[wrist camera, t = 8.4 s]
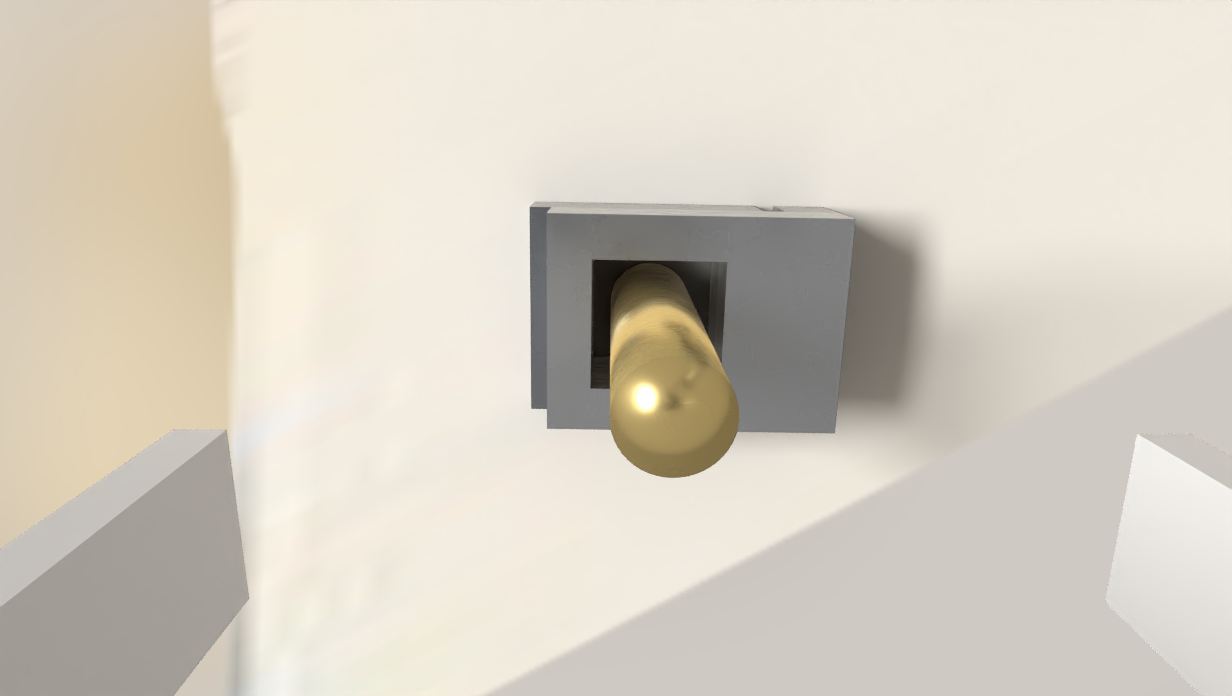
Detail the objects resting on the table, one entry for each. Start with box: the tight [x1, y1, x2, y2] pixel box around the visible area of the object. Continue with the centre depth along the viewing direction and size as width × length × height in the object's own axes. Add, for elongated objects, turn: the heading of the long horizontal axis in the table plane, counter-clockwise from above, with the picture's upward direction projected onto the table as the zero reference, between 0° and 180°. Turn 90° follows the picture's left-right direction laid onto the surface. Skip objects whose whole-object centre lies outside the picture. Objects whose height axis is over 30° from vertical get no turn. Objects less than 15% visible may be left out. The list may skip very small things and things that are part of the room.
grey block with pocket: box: [530, 202, 855, 433], centre depth 31 cm, size 12×8×4 cm
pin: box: [610, 263, 739, 478], centre depth 27 cm, size 3×3×14 cm
